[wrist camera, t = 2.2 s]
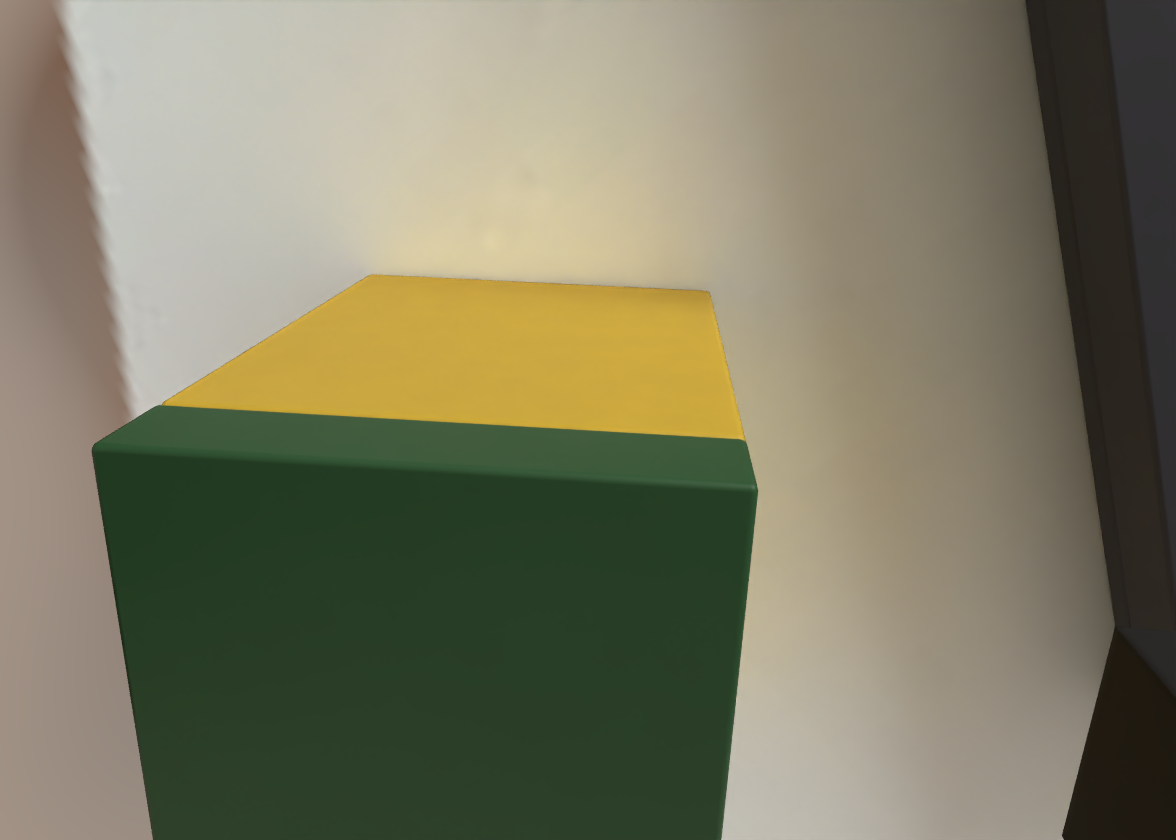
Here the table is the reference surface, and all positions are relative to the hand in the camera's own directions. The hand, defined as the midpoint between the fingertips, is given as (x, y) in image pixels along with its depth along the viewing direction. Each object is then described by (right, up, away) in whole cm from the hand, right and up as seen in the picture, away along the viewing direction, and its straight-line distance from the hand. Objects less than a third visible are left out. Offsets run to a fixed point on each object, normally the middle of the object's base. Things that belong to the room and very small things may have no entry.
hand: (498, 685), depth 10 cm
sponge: (0, +2, +4) cm, 4 cm away
